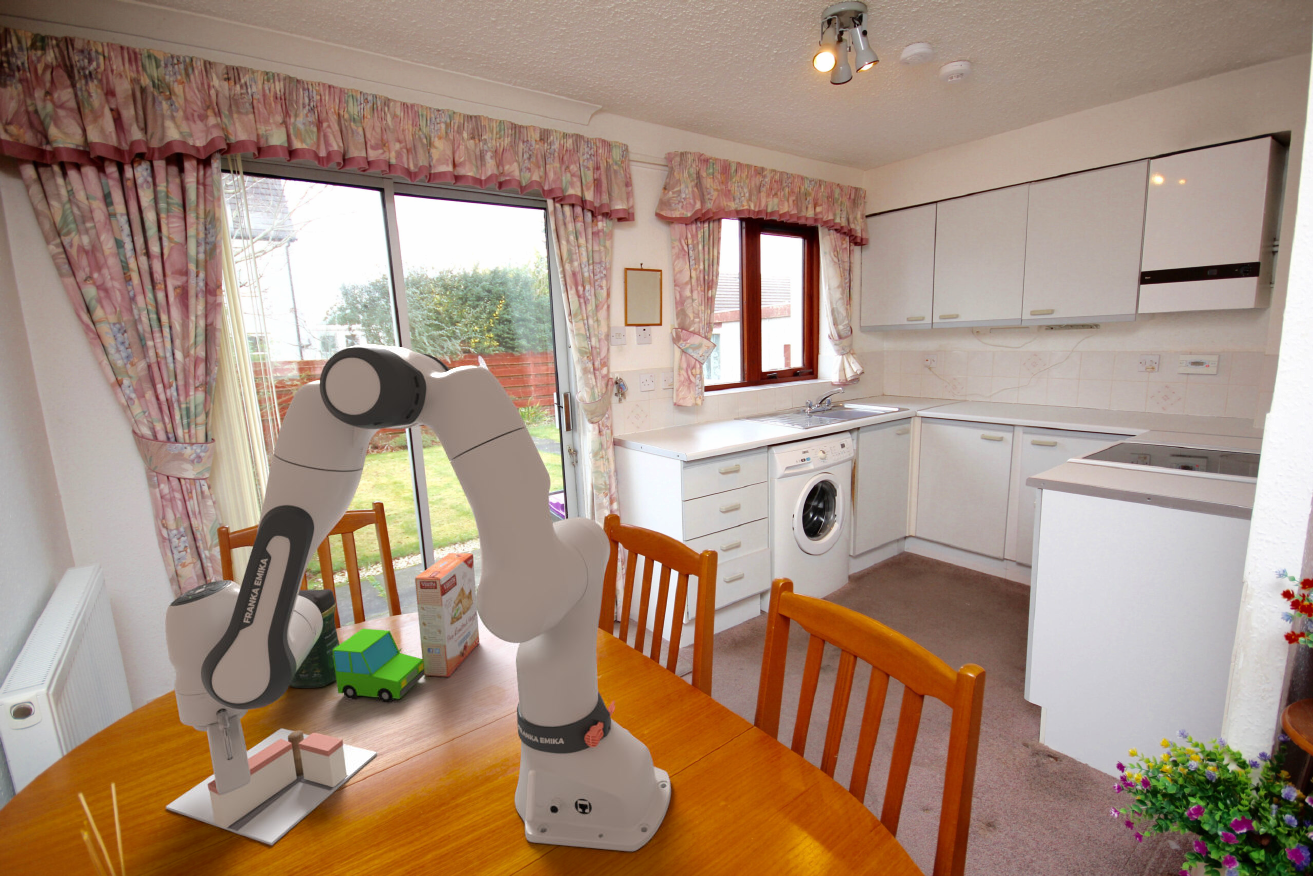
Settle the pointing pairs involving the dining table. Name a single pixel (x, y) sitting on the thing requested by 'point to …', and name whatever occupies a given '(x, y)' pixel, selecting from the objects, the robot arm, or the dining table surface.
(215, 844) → the dining table surface
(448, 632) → the cracker box
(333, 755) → the fixed fence panel
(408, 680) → the toy car
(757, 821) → the dining table surface
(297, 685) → the coffee jar
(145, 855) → the dining table surface
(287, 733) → the card
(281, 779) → the folding fence panel
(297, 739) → the hinge post
